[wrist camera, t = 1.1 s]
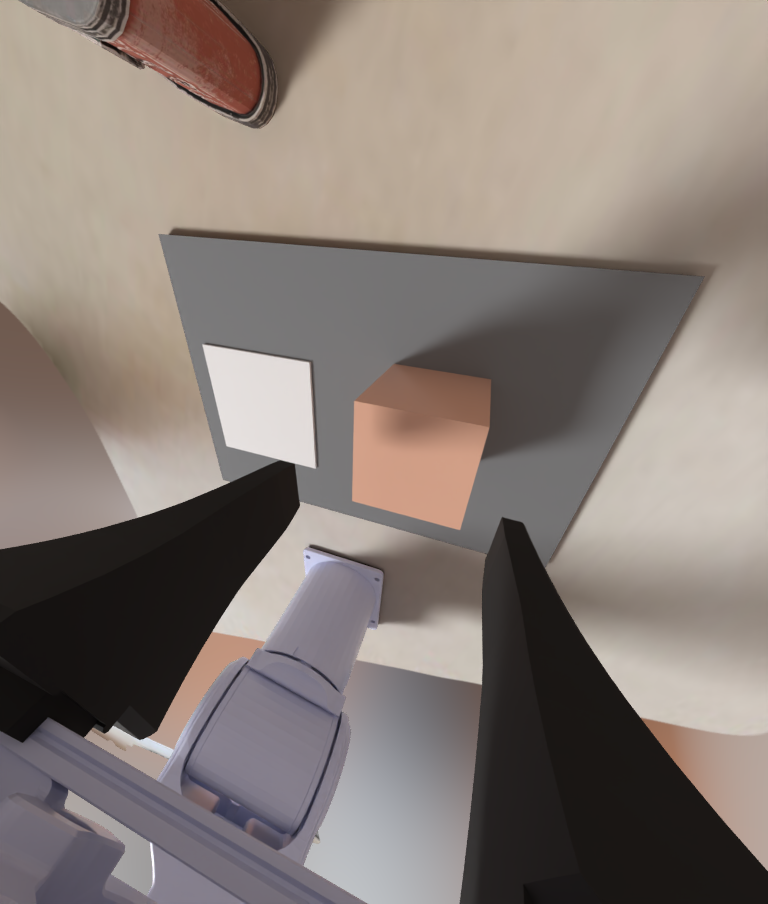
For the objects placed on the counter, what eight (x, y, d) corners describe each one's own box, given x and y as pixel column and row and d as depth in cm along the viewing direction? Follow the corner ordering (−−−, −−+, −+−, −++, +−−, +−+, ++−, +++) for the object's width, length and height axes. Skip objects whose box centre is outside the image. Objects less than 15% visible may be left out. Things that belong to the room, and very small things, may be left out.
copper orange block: (469, 463, 19) (460, 530, 14) (386, 444, 20) (352, 501, 15) (491, 379, 16) (489, 427, 11) (393, 363, 17) (354, 400, 12)
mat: (542, 563, 22) (544, 572, 21) (227, 475, 28) (221, 480, 27) (696, 276, 12) (707, 276, 12) (167, 234, 18) (155, 233, 18)
